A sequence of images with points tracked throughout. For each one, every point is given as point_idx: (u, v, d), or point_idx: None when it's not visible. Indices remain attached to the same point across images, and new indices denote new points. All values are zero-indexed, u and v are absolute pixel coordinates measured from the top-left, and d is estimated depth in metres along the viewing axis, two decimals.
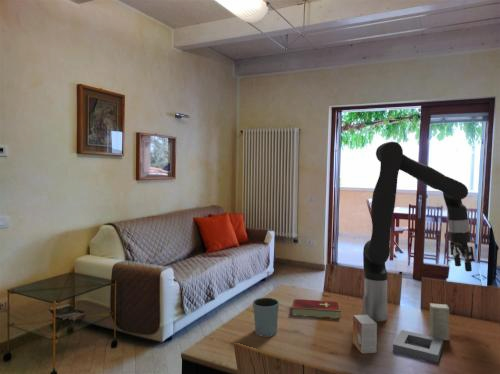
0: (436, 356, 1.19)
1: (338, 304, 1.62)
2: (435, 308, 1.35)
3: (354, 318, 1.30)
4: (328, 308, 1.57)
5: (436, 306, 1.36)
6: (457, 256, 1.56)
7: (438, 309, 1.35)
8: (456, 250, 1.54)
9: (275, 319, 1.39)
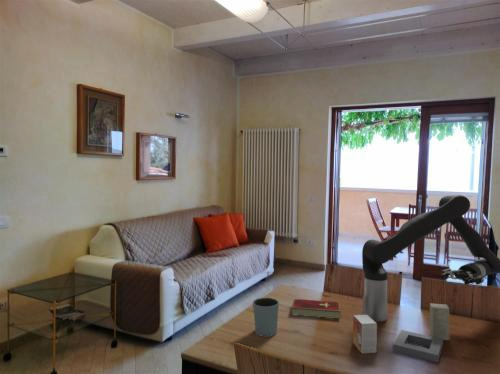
0: (436, 356, 1.19)
1: (338, 304, 1.62)
2: (435, 308, 1.35)
3: (354, 318, 1.31)
4: (328, 308, 1.57)
5: (436, 306, 1.36)
6: (448, 275, 1.49)
7: (438, 309, 1.35)
8: (457, 272, 1.49)
9: (275, 319, 1.39)
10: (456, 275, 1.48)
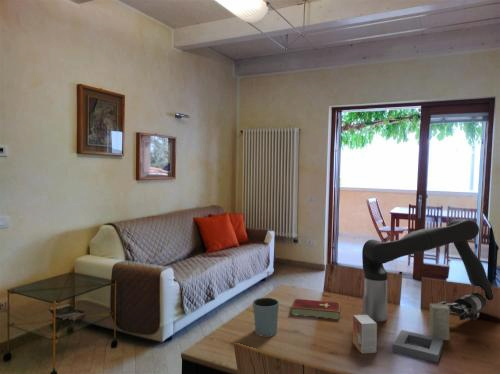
0: (436, 356, 1.19)
1: (338, 305, 1.61)
2: (435, 308, 1.35)
3: (354, 318, 1.31)
4: (328, 309, 1.57)
5: (436, 306, 1.36)
6: None
7: (438, 309, 1.35)
8: (453, 305, 1.47)
9: (275, 319, 1.39)
10: (451, 309, 1.47)
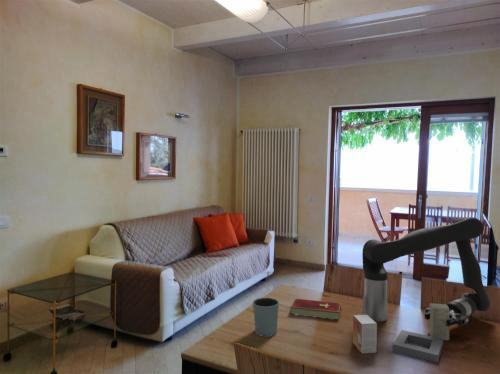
0: (436, 356, 1.19)
1: (339, 305, 1.61)
2: (435, 308, 1.35)
3: (354, 318, 1.31)
4: (327, 309, 1.56)
5: (436, 305, 1.36)
6: None
7: (438, 309, 1.35)
8: None
9: (275, 319, 1.39)
10: None
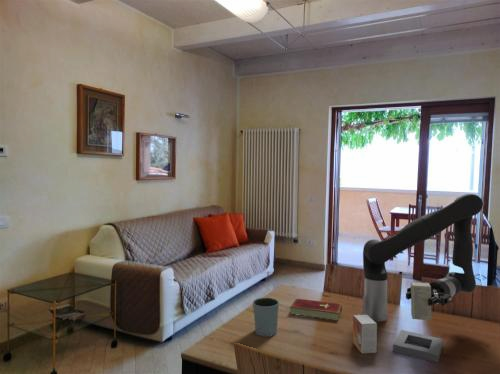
0: (436, 356, 1.19)
1: (339, 306, 1.60)
2: (416, 286, 1.26)
3: (354, 318, 1.30)
4: (327, 309, 1.56)
5: (418, 284, 1.28)
6: None
7: (420, 288, 1.26)
8: None
9: (275, 319, 1.39)
10: None
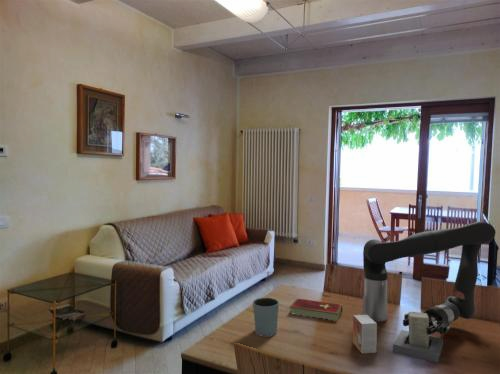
0: (436, 356, 1.19)
1: (339, 307, 1.59)
2: (414, 317, 1.26)
3: (354, 318, 1.30)
4: (326, 310, 1.55)
5: (415, 315, 1.28)
6: None
7: (417, 319, 1.26)
8: None
9: (275, 319, 1.39)
10: None
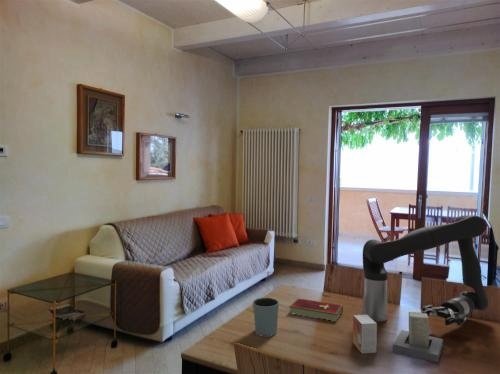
0: (436, 356, 1.19)
1: (339, 307, 1.58)
2: (414, 317, 1.26)
3: (354, 318, 1.30)
4: (326, 310, 1.55)
5: (415, 315, 1.28)
6: (429, 313, 1.40)
7: (417, 319, 1.26)
8: None
9: (275, 319, 1.39)
10: (437, 313, 1.40)
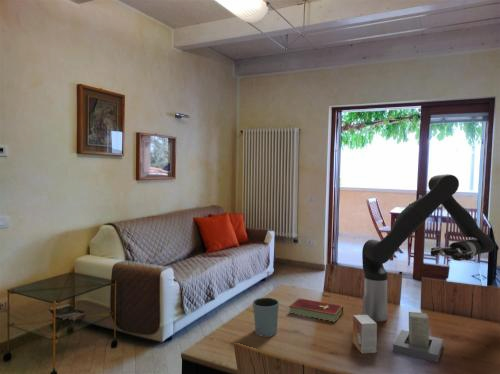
0: (436, 356, 1.19)
1: (339, 308, 1.58)
2: (414, 317, 1.26)
3: (354, 318, 1.30)
4: (325, 310, 1.55)
5: (415, 315, 1.28)
6: (437, 252, 1.47)
7: (417, 319, 1.26)
8: (447, 249, 1.47)
9: (275, 319, 1.39)
10: (446, 252, 1.46)
